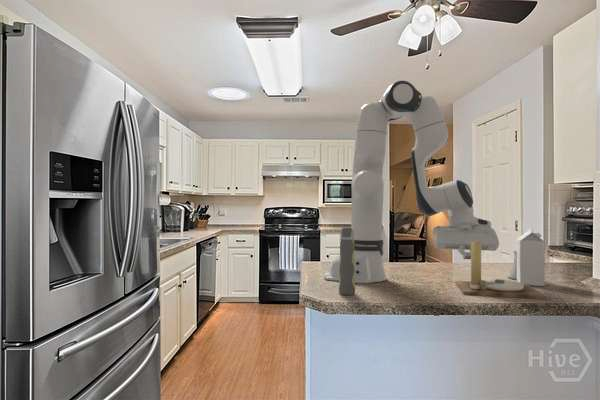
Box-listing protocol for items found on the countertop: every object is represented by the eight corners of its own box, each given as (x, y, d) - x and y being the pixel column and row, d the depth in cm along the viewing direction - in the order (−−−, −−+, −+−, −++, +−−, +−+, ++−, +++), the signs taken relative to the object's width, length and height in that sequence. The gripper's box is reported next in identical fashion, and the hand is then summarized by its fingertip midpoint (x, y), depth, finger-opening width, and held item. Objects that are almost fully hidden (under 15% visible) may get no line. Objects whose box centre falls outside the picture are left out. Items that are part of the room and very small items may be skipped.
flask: (524, 277, 140) (524, 250, 140) (534, 281, 133) (533, 252, 133) (503, 276, 141) (503, 250, 141) (512, 280, 133) (512, 252, 134)
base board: (463, 294, 112) (463, 281, 112) (455, 283, 128) (455, 271, 128) (546, 299, 107) (546, 285, 107) (527, 287, 122) (527, 275, 122)
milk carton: (520, 285, 126) (520, 228, 126) (516, 281, 132) (516, 227, 133) (544, 287, 123) (544, 229, 123) (540, 282, 130) (539, 228, 130)
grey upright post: (355, 292, 114) (356, 227, 114) (354, 296, 109) (354, 228, 109) (340, 291, 115) (340, 226, 115) (337, 295, 110) (337, 227, 111)
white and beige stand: (499, 281, 125) (499, 239, 126) (534, 289, 113) (533, 242, 113) (457, 284, 121) (457, 240, 121) (488, 293, 108) (488, 244, 108)
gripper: (432, 220, 134) (435, 251, 124) (495, 221, 129) (503, 253, 119) (431, 232, 138) (434, 262, 128) (492, 233, 133) (499, 265, 123)
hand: (468, 258), depth 124 cm, fingers closed
